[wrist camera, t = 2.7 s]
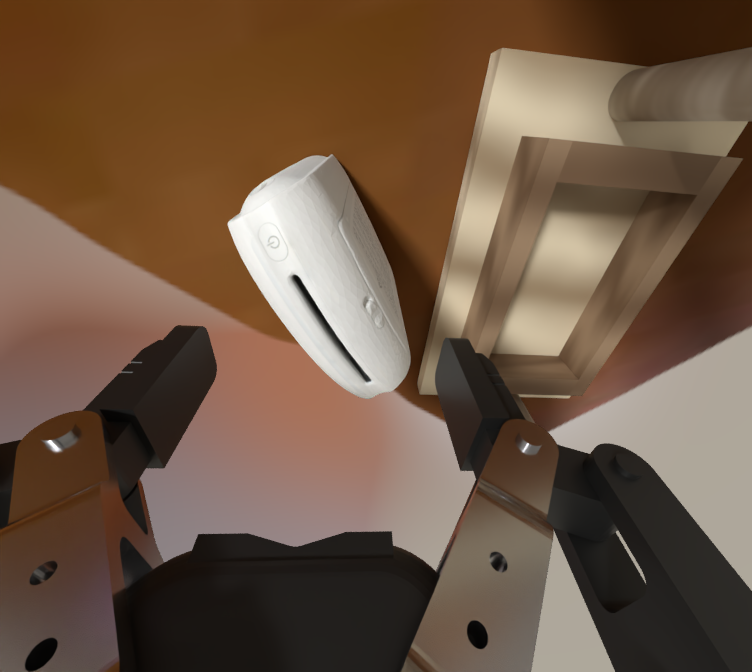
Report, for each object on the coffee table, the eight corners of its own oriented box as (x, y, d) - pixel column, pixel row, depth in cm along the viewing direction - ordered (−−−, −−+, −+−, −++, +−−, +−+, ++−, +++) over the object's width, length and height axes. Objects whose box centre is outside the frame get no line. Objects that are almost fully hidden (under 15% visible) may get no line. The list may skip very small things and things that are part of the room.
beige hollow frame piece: (491, 53, 16) (825, -120, 5) (743, 85, 17) (1499, 15, 6) (417, 383, 30) (453, 545, 18) (560, 387, 31) (678, 541, 20)
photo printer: (273, 174, 19) (173, 235, 9) (333, 138, 18) (300, 160, 8) (351, 303, 24) (346, 433, 14) (400, 281, 23) (432, 403, 13)
